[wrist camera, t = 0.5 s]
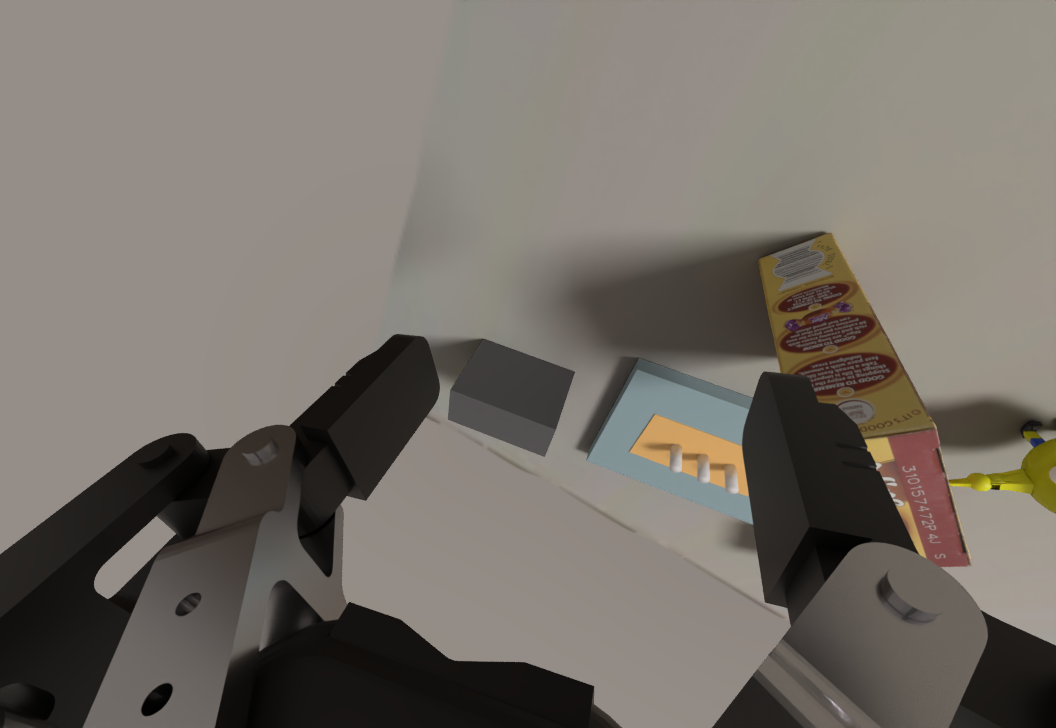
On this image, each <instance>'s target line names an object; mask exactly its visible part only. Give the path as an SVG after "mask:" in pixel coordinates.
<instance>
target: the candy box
mask: <svg viewBox="0 0 1056 728" xmlns="http://www.w3.org/2000/svg"><path fill="white" fill-rule="evenodd" d="M758 263H759V270H760V275H761V279H762V284H763V290H764V294H765V299H766V304H767V310H768V315H769V319H770V324H771V329H772V333H773V337H774V342H775V347H776V352H777V357H778V362H779V367H780V372H781V373H785V374H795V375H805V376H807V377H808V378H809V379H810V382H811V384H812V387H813V389H814V392H815V394H816V397H817V399H818V402H821V403H830V404H836V405H837V406H838V407H839V408H840V409H841V410H842V411H843V412H844V413H845V414H846V415H848V416H849V417H850V418H851V419H852V420H853V421H854V422H855V423H856V424H857V425H858V427H859V429H860V432H861V434H862V436H863V438H864V440H865V442H866V444H867V446H868V448H867V451H869V452H870V453H871V455H872V457H873V459H874V461H875V463H876V465H877V467H876V470H877V471H880V474H881V476H882V478H883V480H884V482H885V484H886V486H887V488H888V490H889V493H890V495H891V497H892V499H893V501H894V503H895V505H896V507H897V509H898V511H899V514H900V516H901V518H902V520H903V522H904V524H905V526H906V528H907V530H908V532H909V535H910V537H911V539H912V541H913V543H914V545H915V547H916V549H917V551H918V553H919V554H920V555H921V556H923V557H925V558H926V559H928V560H930V561H932V562H933V563H935V564H936V565H938V566H939V567H969V566H972V561H971V557H970V553H969V550H968V547H967V544H966V541H965V537H964V534H963V530H962V527H961V523H960V520H959V516H958V513H957V509H956V506H955V502H954V498H953V494H952V490H951V487H950V483H949V480H948V476H947V472H946V469H945V465H944V462H943V454H942V452H941V450H940V441H939V437H938V431H937V427H936V425H935V423H934V422H933V420H932V418H931V416H930V415H929V413H928V411H927V409H926V408H925V406H924V404H923V402H922V400H921V399H920V397H919V395H918V393H917V391H916V389H915V387H914V385H913V383H912V382H911V380H910V378H909V376H908V374H907V372H906V371H905V369H904V367H903V365H902V363H901V361H900V360H899V358H898V355H897V353H896V352H895V350H894V348H893V346H892V344H891V342H890V340H889V338H888V337H887V335H886V333H885V331H884V330H883V328H882V326H881V324H880V322H879V320H878V318H877V316H876V314H875V313H874V311H873V309H872V307H871V305H870V303H869V301H868V299H867V297H866V295H865V294H864V292H863V290H862V288H861V286H860V284H859V282H858V281H857V279H856V277H855V276H854V274H853V272H852V270H851V268H850V266H849V264H848V263H847V261H846V259H845V257H844V255H843V254H842V252H841V250H840V248H839V246H838V244H837V242H836V240H835V238H834V236H833V234H832V233H827V234H824V235H822V236H819V237H816V238H814V239H811V240H809V241H806V242H803V243H801V244H798V245H796V246H793V247H791V248H788V249H785V250H782V251H780V252H777V253H774V254H771V255H769V256H766V257H763V258H760V259H759V261H758Z"/></svg>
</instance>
